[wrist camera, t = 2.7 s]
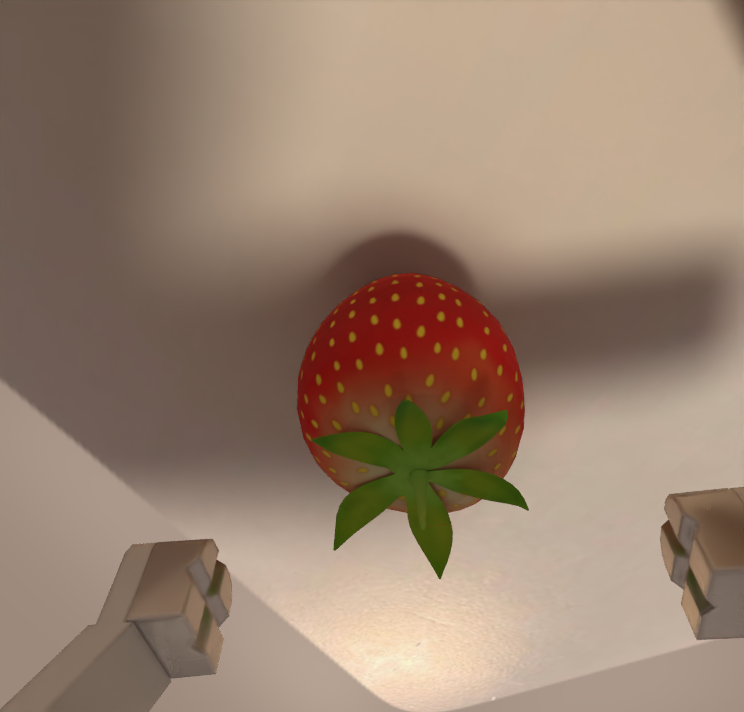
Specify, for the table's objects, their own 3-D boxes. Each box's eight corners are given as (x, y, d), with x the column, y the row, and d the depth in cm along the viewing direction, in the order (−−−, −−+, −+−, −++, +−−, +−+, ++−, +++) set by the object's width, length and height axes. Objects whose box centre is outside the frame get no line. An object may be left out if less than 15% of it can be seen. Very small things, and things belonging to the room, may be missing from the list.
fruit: (275, 296, 18) (217, 518, 12) (415, 177, 16) (441, 364, 9) (399, 405, 20) (409, 641, 14) (535, 312, 18) (622, 538, 12)
